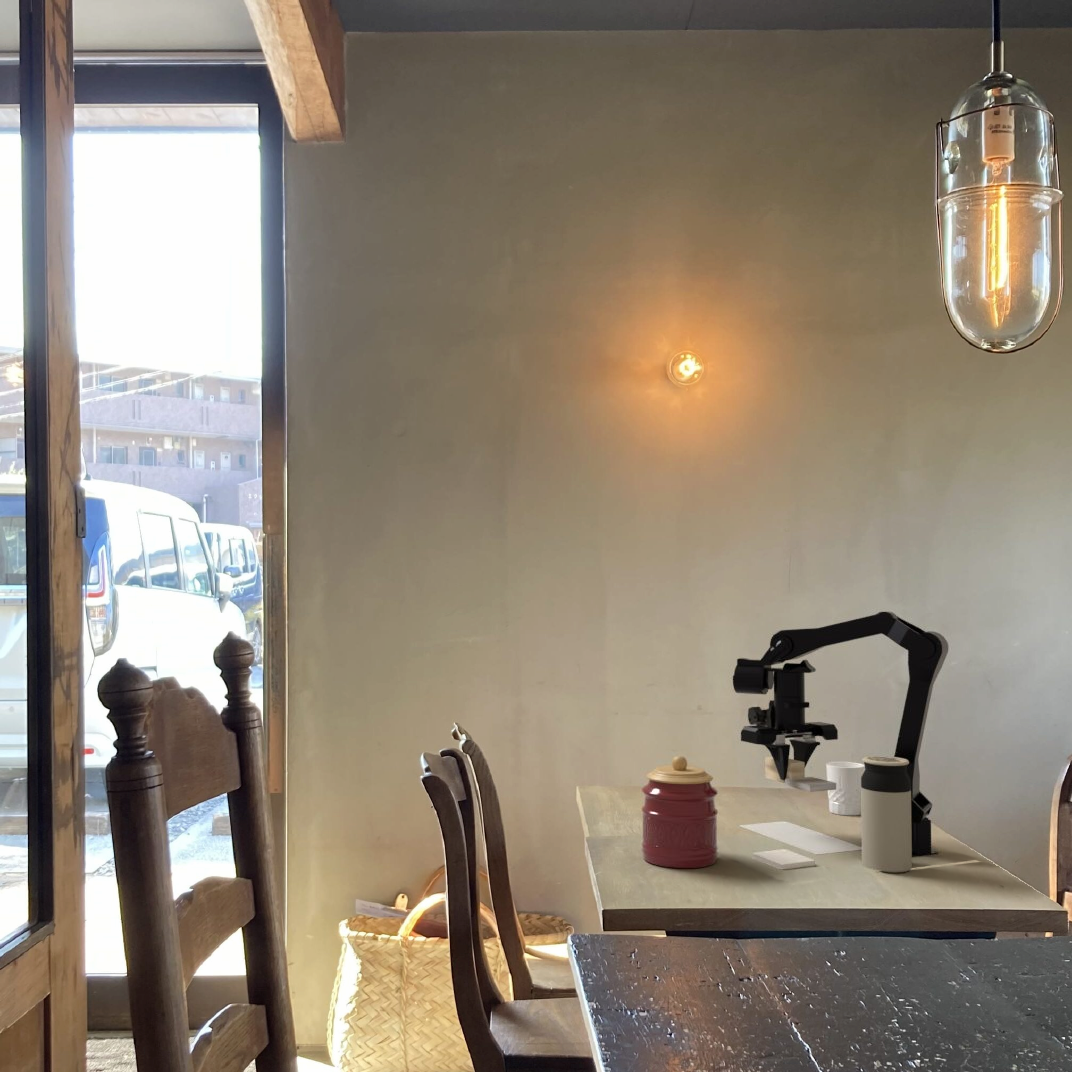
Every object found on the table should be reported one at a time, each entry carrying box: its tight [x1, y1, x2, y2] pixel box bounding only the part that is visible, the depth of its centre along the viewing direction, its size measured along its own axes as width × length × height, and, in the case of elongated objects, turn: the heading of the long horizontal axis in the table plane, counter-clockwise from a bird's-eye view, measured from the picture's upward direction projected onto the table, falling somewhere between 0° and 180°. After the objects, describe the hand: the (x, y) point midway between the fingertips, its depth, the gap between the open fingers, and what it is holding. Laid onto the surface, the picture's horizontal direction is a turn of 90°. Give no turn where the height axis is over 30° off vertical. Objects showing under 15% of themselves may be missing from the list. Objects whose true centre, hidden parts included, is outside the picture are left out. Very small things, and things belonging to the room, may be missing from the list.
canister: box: [641, 755, 719, 869], centre depth 177 cm, size 13×13×18 cm
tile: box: [751, 848, 816, 870], centre depth 175 cm, size 2×7×8 cm
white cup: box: [825, 761, 865, 816], centre depth 217 cm, size 8×8×10 cm
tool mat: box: [738, 820, 862, 856], centre depth 193 cm, size 24×11×1 cm, turn 23°
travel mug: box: [860, 755, 913, 874], centre depth 173 cm, size 8×8×18 cm
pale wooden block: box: [764, 756, 836, 793], centre depth 193 cm, size 15×6×4 cm, turn 24°
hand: (790, 779), depth 194 cm, fingers closed on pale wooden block, 3 cm apart
